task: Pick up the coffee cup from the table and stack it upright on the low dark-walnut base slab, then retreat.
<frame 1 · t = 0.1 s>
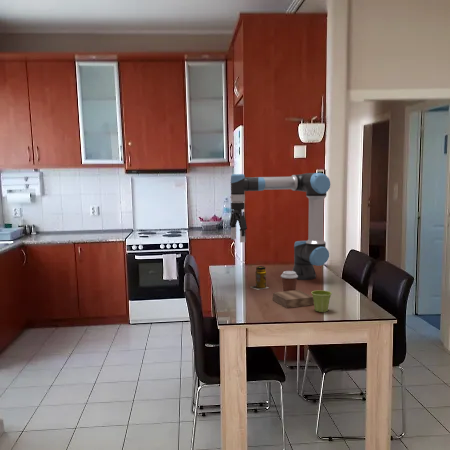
hand: (238, 240, 253), 28 cm above the table, fingers open, 13 cm apart
coffee cup: (289, 294, 247), on the table
base slab: (292, 302, 231), on the table
condiment: (259, 288, 261), on the table
plant pot: (321, 310, 217), on the table
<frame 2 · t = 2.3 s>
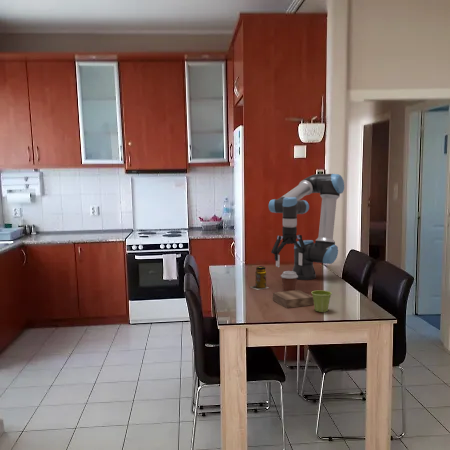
hand: (289, 265, 245), 15 cm above the table, fingers open, 13 cm apart
nothing on the table moved.
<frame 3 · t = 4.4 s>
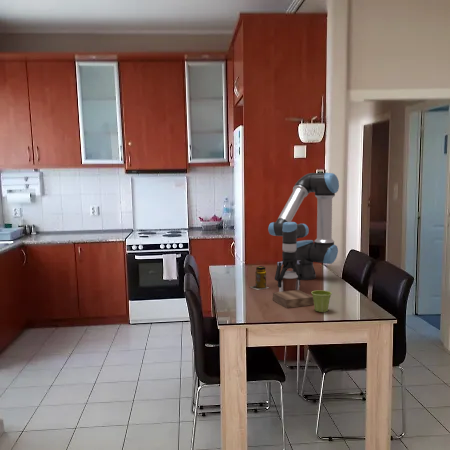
hand: (289, 292, 247), 1 cm above the table, fingers closed on coffee cup, 9 cm apart
coffee cup: (289, 294, 247), on the table, touching gripper
everything else where it was.
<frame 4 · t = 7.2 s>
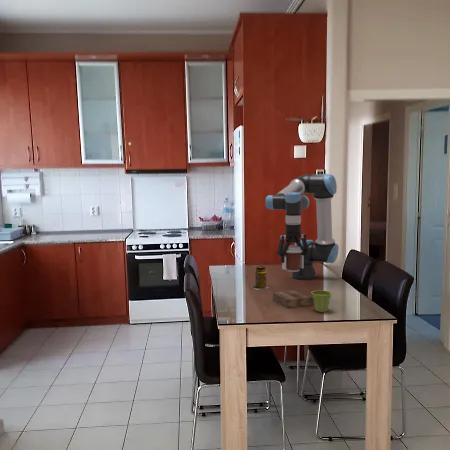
hand: (292, 268, 229), 17 cm above the table, fingers closed on coffee cup, 9 cm apart
coffee cup: (292, 270, 229), point 16 cm above the table, touching gripper
everything else where it was.
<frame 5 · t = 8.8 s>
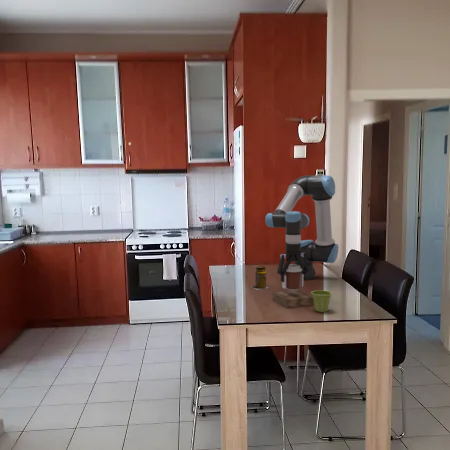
hand: (292, 287, 230), 8 cm above the table, fingers closed on coffee cup, 9 cm apart
coffee cup: (292, 289, 230), point 7 cm above the table, touching gripper
everything else where it was.
when the fingers open (6 cm above the table, at t = 10.1 s): coffee cup drops 1 cm, resting on base slab.
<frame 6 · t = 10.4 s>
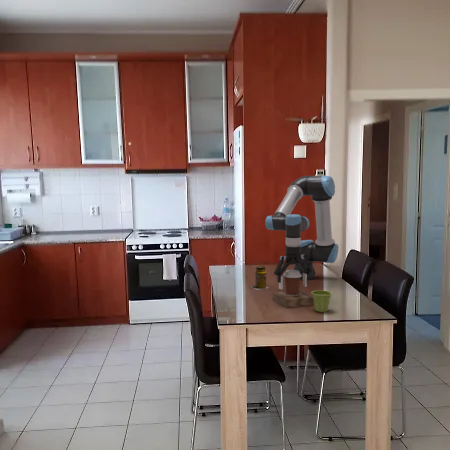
hand: (292, 287, 230), 8 cm above the table, fingers open, 13 cm apart
coffee cup: (292, 295, 230), point 4 cm above the table, touching base slab
everything else where it was.
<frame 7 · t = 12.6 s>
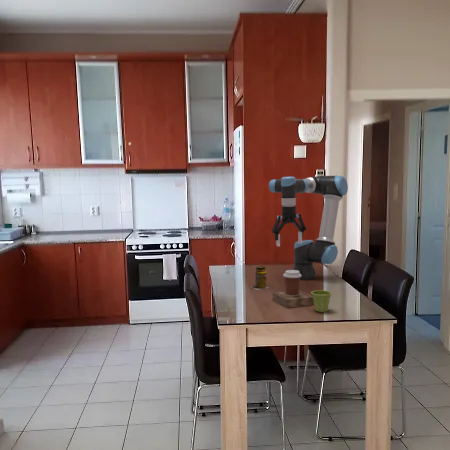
hand: (289, 244, 247), 26 cm above the table, fingers open, 13 cm apart
nothing on the table moved.
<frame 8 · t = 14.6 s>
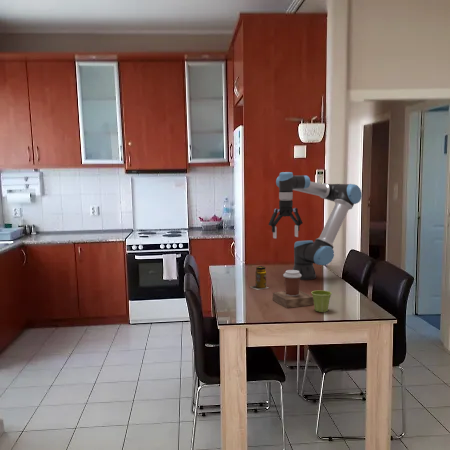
hand: (285, 237, 258), 29 cm above the table, fingers open, 13 cm apart
nothing on the table moved.
at the end: coffee cup inside the target area on the base slab (0.3 cm from its centre), point 3.8 cm above the base slab's base; coffee cup tilted 0°; coffee cup touching base slab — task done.
